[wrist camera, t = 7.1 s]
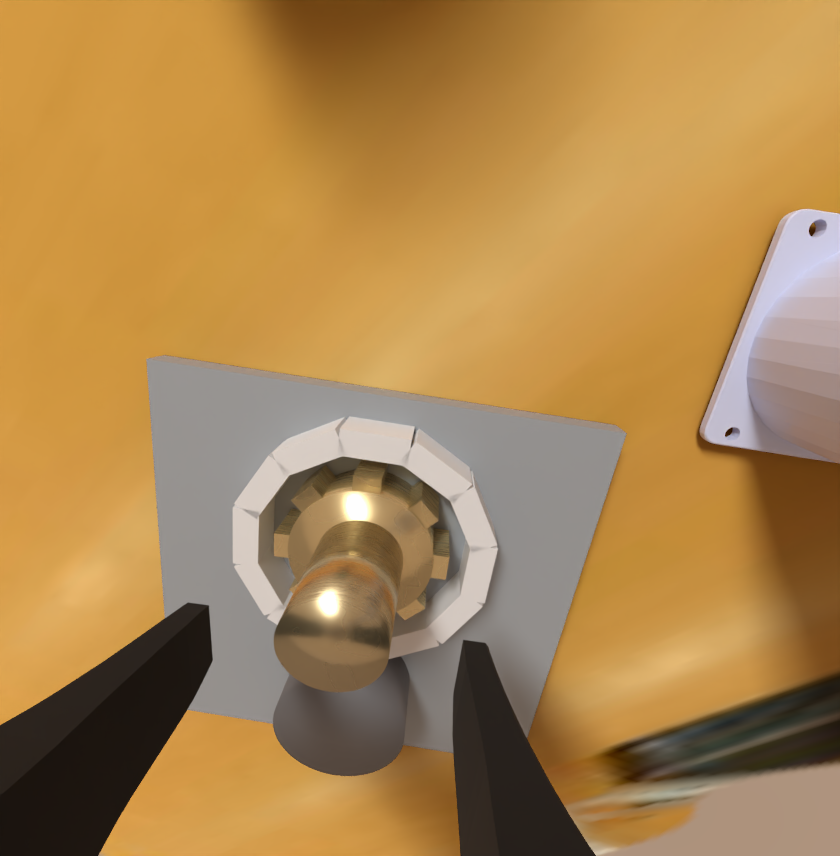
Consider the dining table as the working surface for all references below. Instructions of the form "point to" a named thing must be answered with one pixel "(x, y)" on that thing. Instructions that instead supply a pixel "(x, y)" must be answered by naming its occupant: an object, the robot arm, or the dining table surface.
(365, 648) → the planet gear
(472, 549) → the carrier plate
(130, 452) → the dining table surface
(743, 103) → the dining table surface
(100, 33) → the dining table surface
